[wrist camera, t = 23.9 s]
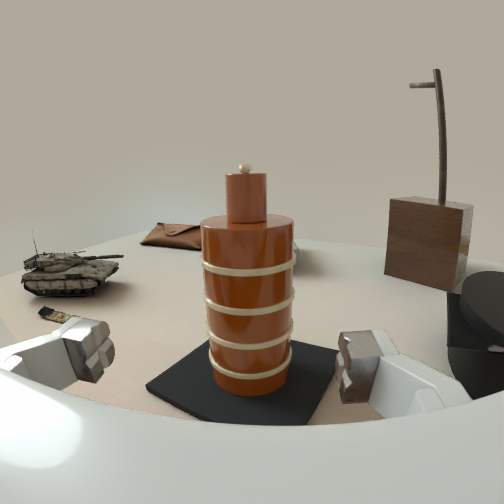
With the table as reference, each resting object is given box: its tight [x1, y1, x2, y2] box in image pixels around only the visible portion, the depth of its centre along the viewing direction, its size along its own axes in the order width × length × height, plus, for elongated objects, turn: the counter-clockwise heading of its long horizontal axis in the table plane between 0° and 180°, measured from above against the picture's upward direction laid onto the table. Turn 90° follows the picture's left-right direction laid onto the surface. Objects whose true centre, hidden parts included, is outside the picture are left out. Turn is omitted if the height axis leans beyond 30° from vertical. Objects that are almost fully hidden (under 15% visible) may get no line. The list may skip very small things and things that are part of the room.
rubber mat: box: [145, 340, 340, 426], centre depth 23 cm, size 12×12×1 cm
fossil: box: [38, 306, 81, 323], centre depth 31 cm, size 8×2×1 cm, turn 78°
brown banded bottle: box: [200, 164, 296, 396], centre depth 20 cm, size 6×6×16 cm
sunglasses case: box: [140, 223, 202, 249], centre depth 67 cm, size 18×7×7 cm
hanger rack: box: [384, 69, 473, 292], centre depth 39 cm, size 12×12×36 cm
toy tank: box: [21, 250, 124, 296], centre depth 39 cm, size 8×18×10 cm, turn 96°
